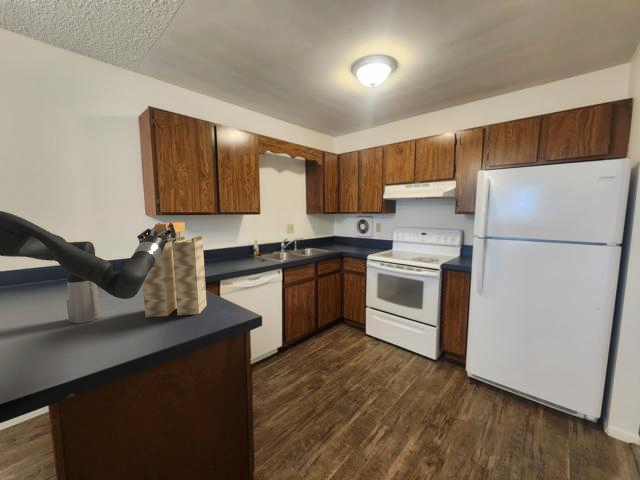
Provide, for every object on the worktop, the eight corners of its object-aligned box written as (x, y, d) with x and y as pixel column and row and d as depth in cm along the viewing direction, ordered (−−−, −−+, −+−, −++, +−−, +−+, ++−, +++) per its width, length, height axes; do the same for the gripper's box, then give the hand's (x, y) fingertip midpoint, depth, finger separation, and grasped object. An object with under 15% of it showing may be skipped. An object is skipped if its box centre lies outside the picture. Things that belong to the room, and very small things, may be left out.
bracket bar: (155, 234, 105) (155, 224, 104) (176, 231, 124) (175, 222, 124) (166, 234, 105) (165, 224, 105) (184, 230, 125) (184, 222, 124)
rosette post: (145, 317, 113) (138, 239, 110) (157, 307, 124) (152, 237, 121) (167, 315, 114) (161, 239, 111) (178, 306, 125) (172, 236, 122)
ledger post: (177, 315, 115) (171, 239, 111) (186, 306, 126) (182, 236, 122) (199, 314, 116) (194, 238, 112) (206, 305, 127) (202, 236, 123)
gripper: (131, 259, 97) (150, 232, 110) (173, 257, 99) (186, 232, 112) (124, 242, 92) (144, 217, 106) (167, 241, 94) (181, 217, 108)
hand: (165, 225), depth 109 cm, fingers closed on bracket bar, 4 cm apart
